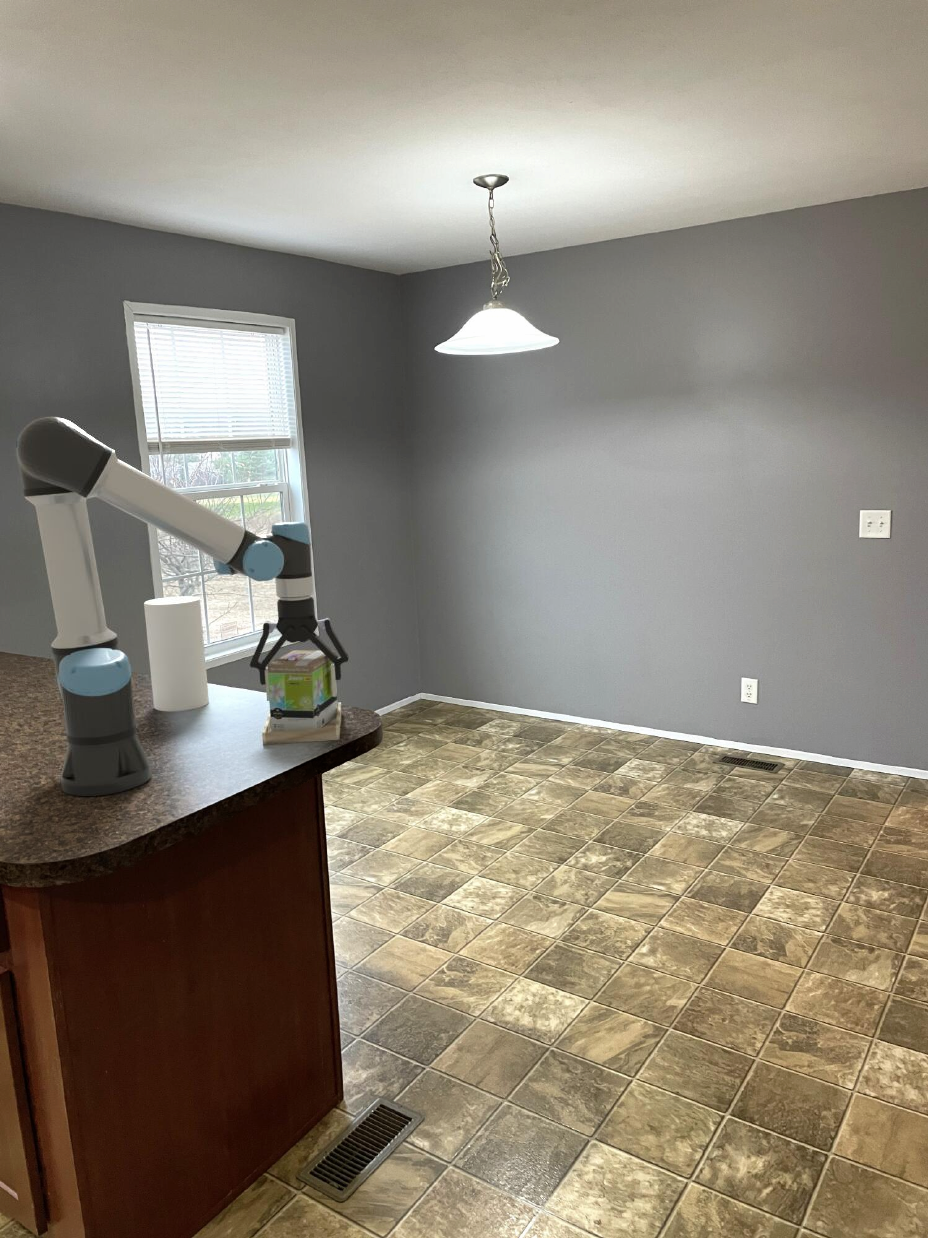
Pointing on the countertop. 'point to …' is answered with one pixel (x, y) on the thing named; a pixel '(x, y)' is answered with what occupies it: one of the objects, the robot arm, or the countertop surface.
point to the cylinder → (176, 653)
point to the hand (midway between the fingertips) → (302, 697)
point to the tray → (304, 732)
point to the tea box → (301, 691)
